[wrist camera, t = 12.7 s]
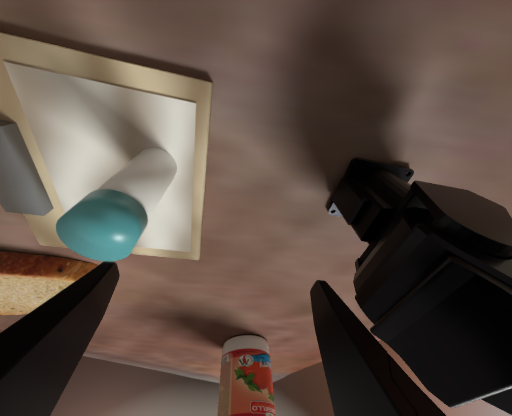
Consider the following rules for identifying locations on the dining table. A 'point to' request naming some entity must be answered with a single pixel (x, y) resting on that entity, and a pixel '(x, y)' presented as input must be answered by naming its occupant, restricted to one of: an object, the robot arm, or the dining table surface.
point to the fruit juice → (246, 378)
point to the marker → (118, 208)
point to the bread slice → (35, 279)
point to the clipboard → (98, 138)
